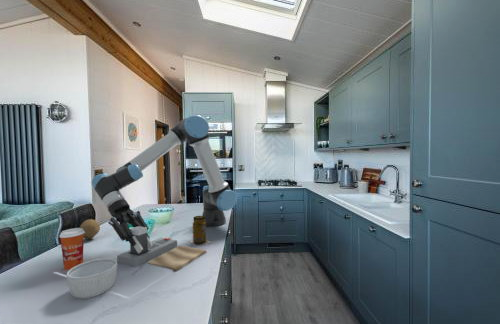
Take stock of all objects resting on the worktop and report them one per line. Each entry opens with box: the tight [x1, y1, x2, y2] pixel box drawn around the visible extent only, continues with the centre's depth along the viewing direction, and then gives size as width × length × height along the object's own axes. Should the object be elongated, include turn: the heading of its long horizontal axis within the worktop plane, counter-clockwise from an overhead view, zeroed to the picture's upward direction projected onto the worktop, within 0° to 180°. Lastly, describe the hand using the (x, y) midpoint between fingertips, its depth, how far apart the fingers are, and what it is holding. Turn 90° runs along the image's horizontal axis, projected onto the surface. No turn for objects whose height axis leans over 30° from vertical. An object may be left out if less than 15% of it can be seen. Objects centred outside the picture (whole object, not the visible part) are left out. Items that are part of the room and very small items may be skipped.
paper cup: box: [59, 227, 85, 271], centre depth 90 cm, size 8×8×14 cm
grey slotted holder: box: [116, 236, 178, 268], centre depth 101 cm, size 22×10×4 cm, turn 154°
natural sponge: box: [79, 218, 101, 240], centre depth 122 cm, size 9×9×10 cm
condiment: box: [189, 215, 212, 246], centre depth 114 cm, size 7×8×12 cm
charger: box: [129, 226, 148, 256], centre depth 96 cm, size 4×5×12 cm
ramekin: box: [66, 257, 118, 299], centre depth 75 cm, size 13×13×7 cm
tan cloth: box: [147, 244, 207, 272], centre depth 97 cm, size 18×14×1 cm
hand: (145, 248), depth 95 cm, fingers closed on charger, 4 cm apart
